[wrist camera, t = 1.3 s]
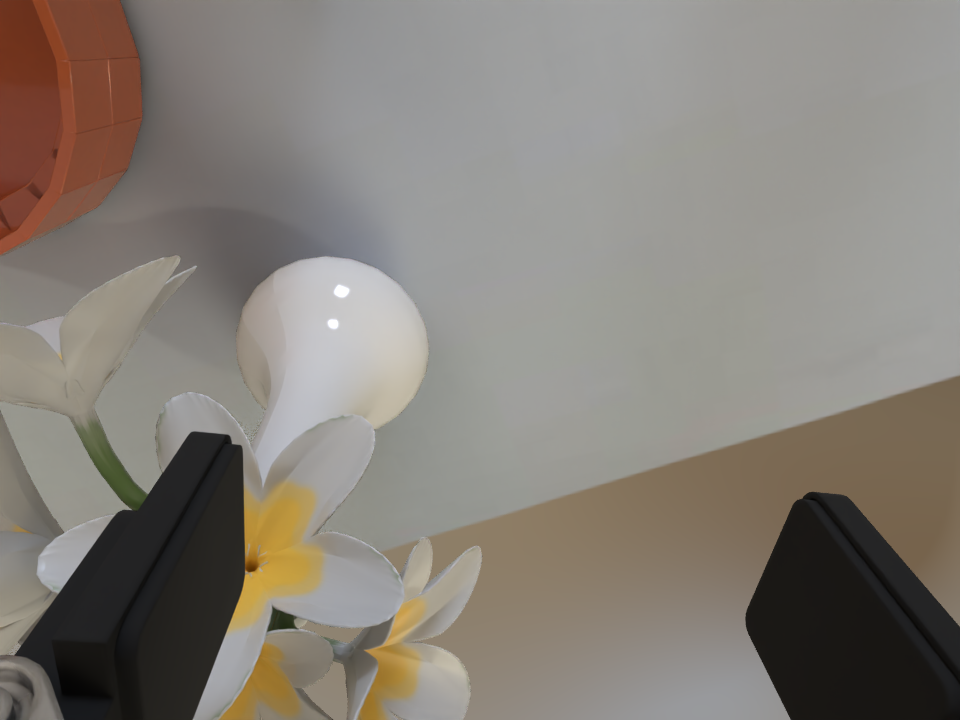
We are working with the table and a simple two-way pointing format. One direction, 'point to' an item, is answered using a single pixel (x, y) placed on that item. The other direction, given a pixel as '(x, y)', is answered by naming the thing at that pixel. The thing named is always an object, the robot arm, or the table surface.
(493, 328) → the table surface
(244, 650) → the flower vase
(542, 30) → the table surface
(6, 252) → the orange plant pot
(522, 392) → the table surface
